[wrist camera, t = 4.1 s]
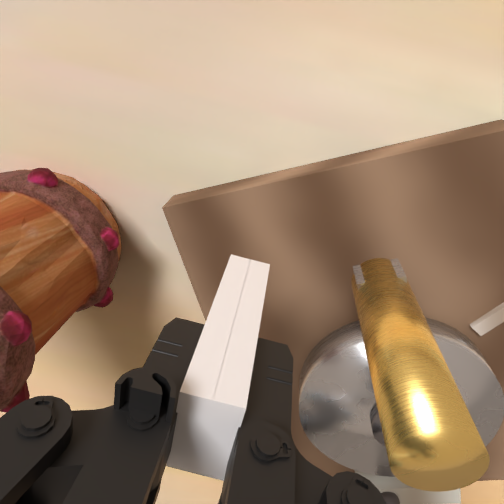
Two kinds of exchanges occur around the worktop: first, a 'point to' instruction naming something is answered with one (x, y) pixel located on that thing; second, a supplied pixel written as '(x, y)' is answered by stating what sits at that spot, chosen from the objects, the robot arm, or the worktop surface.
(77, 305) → the mug
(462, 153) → the stand
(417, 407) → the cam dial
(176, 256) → the worktop surface
